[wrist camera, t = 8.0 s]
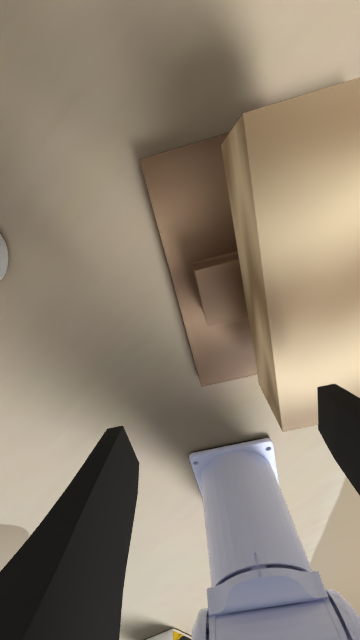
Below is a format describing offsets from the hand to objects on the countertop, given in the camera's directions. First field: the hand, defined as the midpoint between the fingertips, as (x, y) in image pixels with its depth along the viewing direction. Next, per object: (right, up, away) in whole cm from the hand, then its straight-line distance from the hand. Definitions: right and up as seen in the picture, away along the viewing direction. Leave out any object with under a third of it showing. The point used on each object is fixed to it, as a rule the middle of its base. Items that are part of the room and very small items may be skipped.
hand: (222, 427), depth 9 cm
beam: (+4, +6, +5) cm, 9 cm away
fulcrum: (+4, +8, +8) cm, 12 cm away
